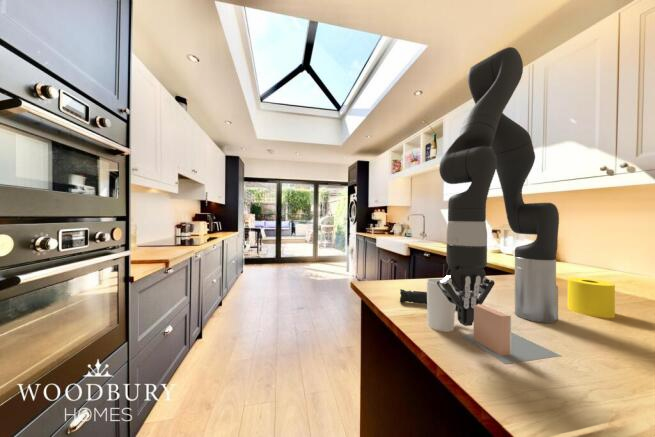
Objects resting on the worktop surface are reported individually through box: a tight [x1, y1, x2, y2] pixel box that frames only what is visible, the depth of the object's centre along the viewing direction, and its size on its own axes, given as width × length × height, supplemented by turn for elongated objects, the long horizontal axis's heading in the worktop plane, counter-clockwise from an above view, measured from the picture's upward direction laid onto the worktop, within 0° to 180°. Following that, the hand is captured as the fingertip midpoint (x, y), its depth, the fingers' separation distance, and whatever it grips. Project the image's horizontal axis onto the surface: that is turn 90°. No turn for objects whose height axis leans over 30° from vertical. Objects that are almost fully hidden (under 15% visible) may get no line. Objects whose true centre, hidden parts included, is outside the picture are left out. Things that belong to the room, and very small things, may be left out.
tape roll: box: [567, 277, 616, 319], centre depth 76 cm, size 10×10×9 cm
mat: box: [458, 331, 562, 365], centre depth 54 cm, size 14×12×1 cm
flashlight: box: [399, 289, 458, 310], centre depth 80 cm, size 5×21×5 cm, turn 72°
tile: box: [473, 303, 512, 356], centre depth 53 cm, size 2×7×8 cm, turn 13°
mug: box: [426, 277, 457, 333], centre depth 64 cm, size 10×7×12 cm, turn 119°
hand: (465, 324), depth 52 cm, fingers closed
